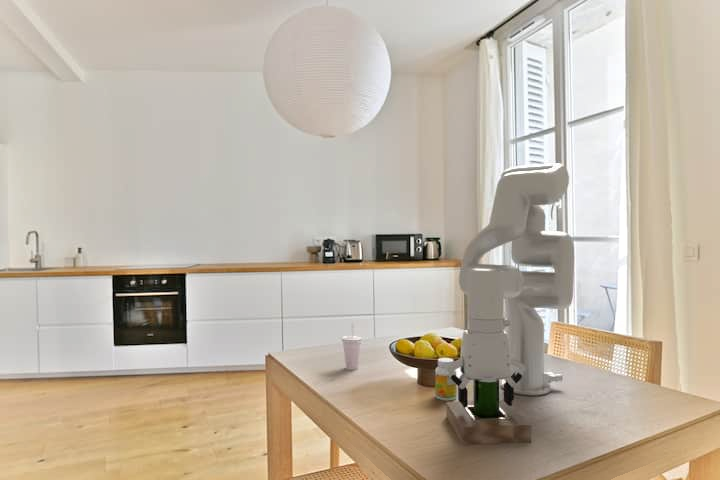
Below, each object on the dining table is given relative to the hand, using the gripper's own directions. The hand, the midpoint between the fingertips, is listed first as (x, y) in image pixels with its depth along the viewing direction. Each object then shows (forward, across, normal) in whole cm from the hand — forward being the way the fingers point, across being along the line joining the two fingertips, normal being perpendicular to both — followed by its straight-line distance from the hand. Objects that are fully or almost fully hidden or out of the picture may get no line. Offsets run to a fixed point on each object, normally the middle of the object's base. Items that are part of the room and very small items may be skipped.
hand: (485, 404), depth 103 cm
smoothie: (+5, +27, -48) cm, 55 cm away
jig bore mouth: (+2, 0, 0) cm, 2 cm away
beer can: (+5, 0, 0) cm, 6 cm away
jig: (+5, 0, 0) cm, 5 cm away
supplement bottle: (+5, +4, -20) cm, 21 cm away
